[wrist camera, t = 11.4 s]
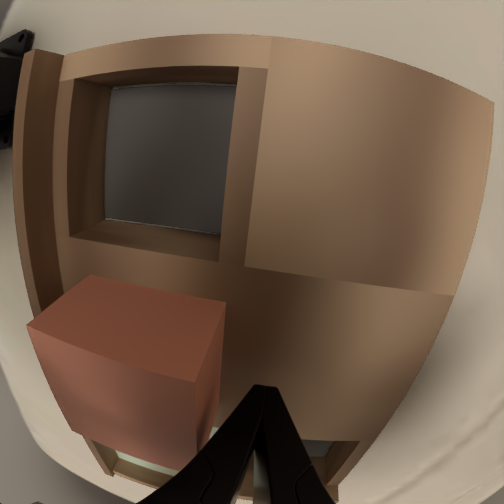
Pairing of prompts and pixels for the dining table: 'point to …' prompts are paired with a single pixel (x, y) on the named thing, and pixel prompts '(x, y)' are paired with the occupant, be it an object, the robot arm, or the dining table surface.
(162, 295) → the block
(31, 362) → the dining table surface
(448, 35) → the dining table surface
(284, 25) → the dining table surface
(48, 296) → the brown compartment tray
